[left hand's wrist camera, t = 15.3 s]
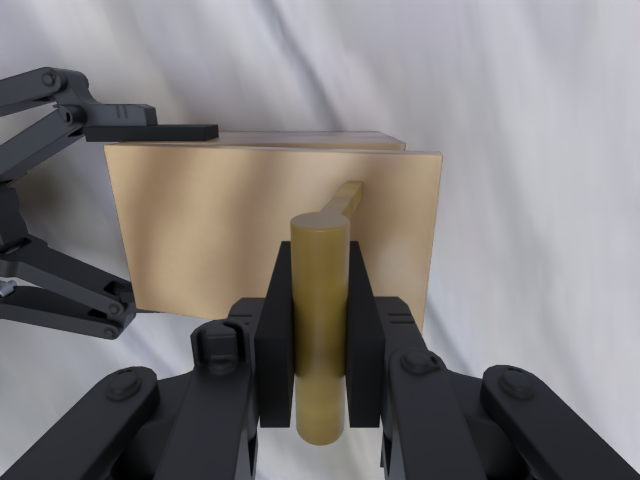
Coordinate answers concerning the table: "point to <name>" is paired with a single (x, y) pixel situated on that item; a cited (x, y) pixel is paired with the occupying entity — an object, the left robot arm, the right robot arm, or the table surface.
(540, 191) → the table surface
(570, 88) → the table surface
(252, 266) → the cabinet door
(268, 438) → the table surface
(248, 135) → the wooden box
